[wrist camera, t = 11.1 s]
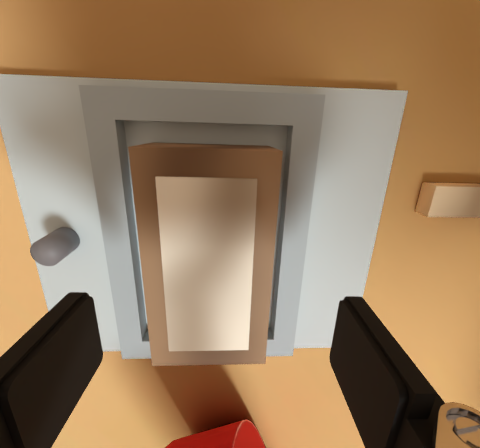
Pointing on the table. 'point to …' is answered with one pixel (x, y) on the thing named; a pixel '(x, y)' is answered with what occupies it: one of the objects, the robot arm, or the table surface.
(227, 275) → the frame
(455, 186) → the prop batten
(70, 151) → the white cabinet door
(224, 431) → the toy clock
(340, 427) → the table surface
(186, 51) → the table surface
